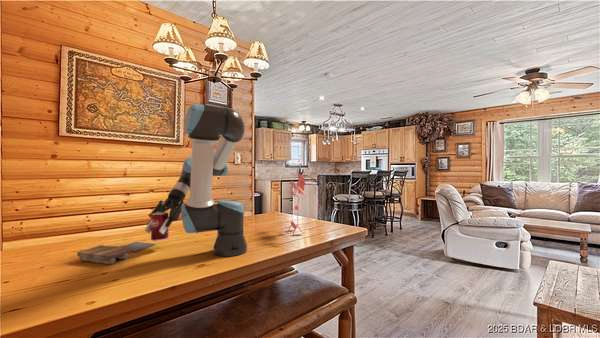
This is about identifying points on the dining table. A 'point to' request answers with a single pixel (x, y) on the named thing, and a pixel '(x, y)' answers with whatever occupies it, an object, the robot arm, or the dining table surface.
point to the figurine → (300, 186)
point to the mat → (137, 246)
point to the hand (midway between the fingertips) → (154, 232)
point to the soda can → (158, 226)
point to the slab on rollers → (104, 254)
